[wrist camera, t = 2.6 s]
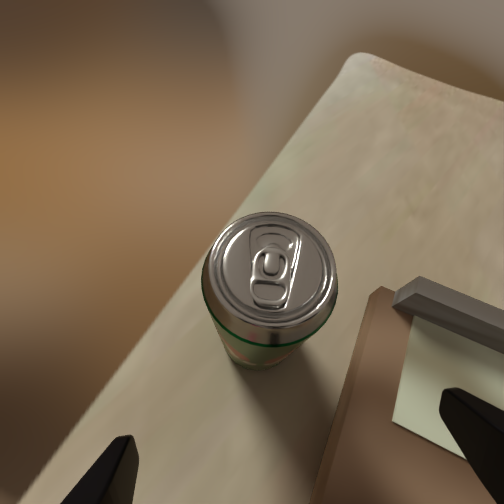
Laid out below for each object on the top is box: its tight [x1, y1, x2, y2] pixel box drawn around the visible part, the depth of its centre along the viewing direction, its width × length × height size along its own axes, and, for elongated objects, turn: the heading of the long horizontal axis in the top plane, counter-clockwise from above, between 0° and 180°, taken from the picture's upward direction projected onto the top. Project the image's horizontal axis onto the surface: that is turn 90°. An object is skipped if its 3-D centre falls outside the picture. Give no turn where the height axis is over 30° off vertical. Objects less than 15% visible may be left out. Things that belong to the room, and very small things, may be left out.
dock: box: [309, 276, 504, 504], centre depth 14 cm, size 16×12×5 cm
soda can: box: [201, 212, 338, 370], centre depth 14 cm, size 5×5×12 cm
